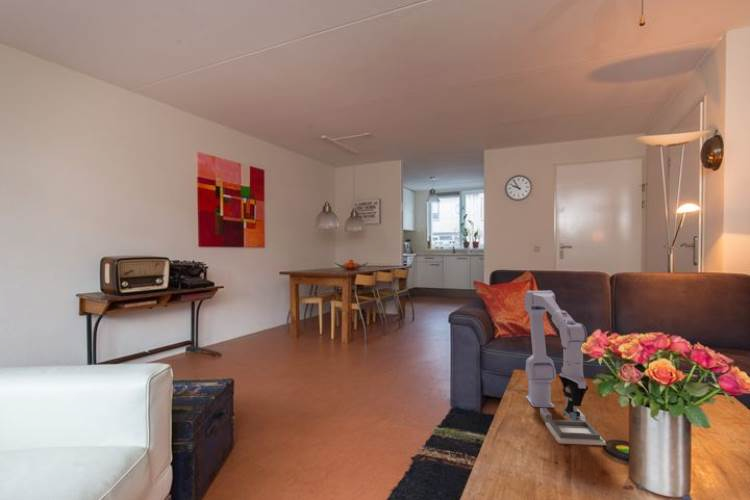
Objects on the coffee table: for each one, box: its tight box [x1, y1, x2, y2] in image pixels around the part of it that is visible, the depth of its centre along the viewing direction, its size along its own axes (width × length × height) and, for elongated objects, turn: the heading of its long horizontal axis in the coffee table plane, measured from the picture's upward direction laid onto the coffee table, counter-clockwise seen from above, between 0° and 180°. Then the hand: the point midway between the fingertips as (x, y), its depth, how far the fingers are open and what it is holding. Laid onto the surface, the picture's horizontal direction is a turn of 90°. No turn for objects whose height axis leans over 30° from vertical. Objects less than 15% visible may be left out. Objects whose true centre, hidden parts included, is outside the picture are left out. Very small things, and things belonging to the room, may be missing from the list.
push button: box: [562, 386, 582, 422], centre depth 125 cm, size 7×5×10 cm
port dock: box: [545, 419, 607, 446], centre depth 125 cm, size 12×14×2 cm
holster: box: [539, 407, 586, 424], centre depth 135 cm, size 6×13×3 cm, turn 84°
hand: (573, 402), depth 125 cm, fingers closed on push button, 5 cm apart
